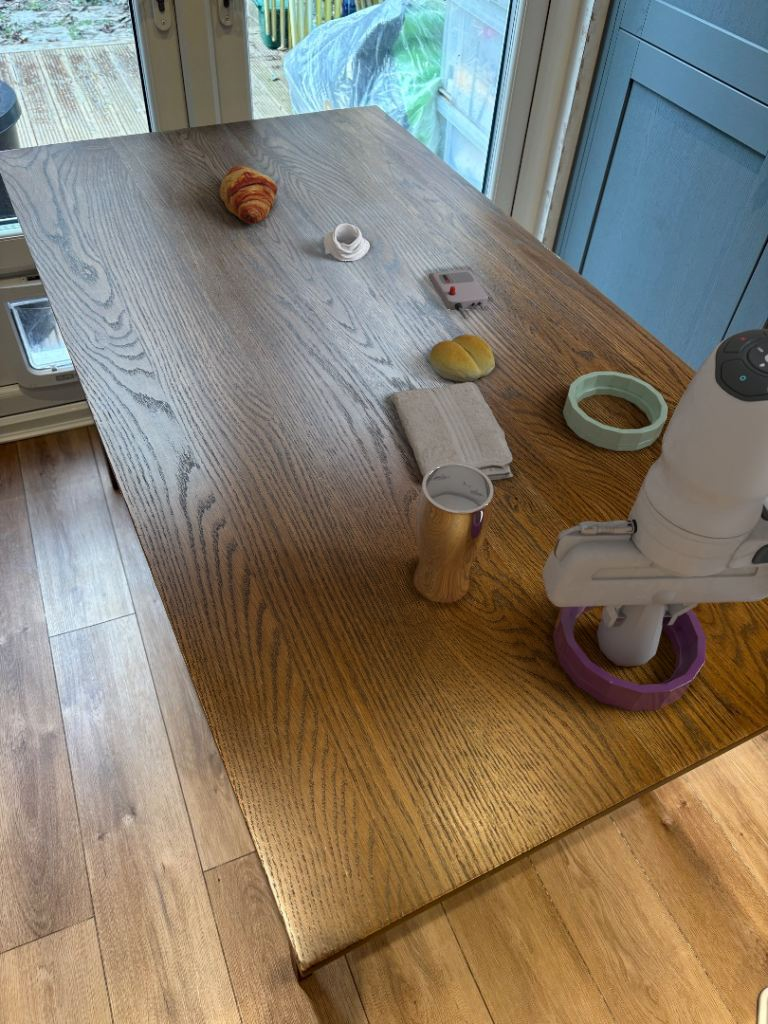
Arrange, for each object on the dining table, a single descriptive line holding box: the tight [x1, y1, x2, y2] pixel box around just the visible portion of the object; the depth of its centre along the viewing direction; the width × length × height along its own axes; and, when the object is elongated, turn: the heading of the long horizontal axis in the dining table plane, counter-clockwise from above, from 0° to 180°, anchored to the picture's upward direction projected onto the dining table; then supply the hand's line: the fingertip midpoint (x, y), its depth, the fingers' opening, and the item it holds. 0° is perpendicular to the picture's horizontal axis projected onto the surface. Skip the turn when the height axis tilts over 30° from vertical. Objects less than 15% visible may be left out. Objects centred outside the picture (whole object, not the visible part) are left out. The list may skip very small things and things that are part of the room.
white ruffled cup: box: [322, 222, 371, 263], centre depth 125 cm, size 8×7×5 cm
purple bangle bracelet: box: [552, 606, 707, 712], centre depth 73 cm, size 14×14×4 cm
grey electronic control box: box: [428, 269, 489, 319], centre depth 119 cm, size 7×16×3 cm, turn 16°
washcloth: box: [389, 381, 514, 481], centre depth 94 cm, size 12×18×3 cm, turn 15°
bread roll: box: [429, 334, 496, 383], centre depth 105 cm, size 8×9×4 cm
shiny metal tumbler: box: [413, 462, 494, 604], centre depth 74 cm, size 7×7×15 cm
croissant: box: [219, 165, 278, 225], centre depth 135 cm, size 21×10×8 cm, turn 14°
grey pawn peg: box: [596, 590, 676, 668], centre depth 70 cm, size 6×6×13 cm
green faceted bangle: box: [562, 370, 669, 452], centre depth 98 cm, size 13×13×4 cm
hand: (636, 620), depth 71 cm, fingers closed on grey pawn peg, 3 cm apart
